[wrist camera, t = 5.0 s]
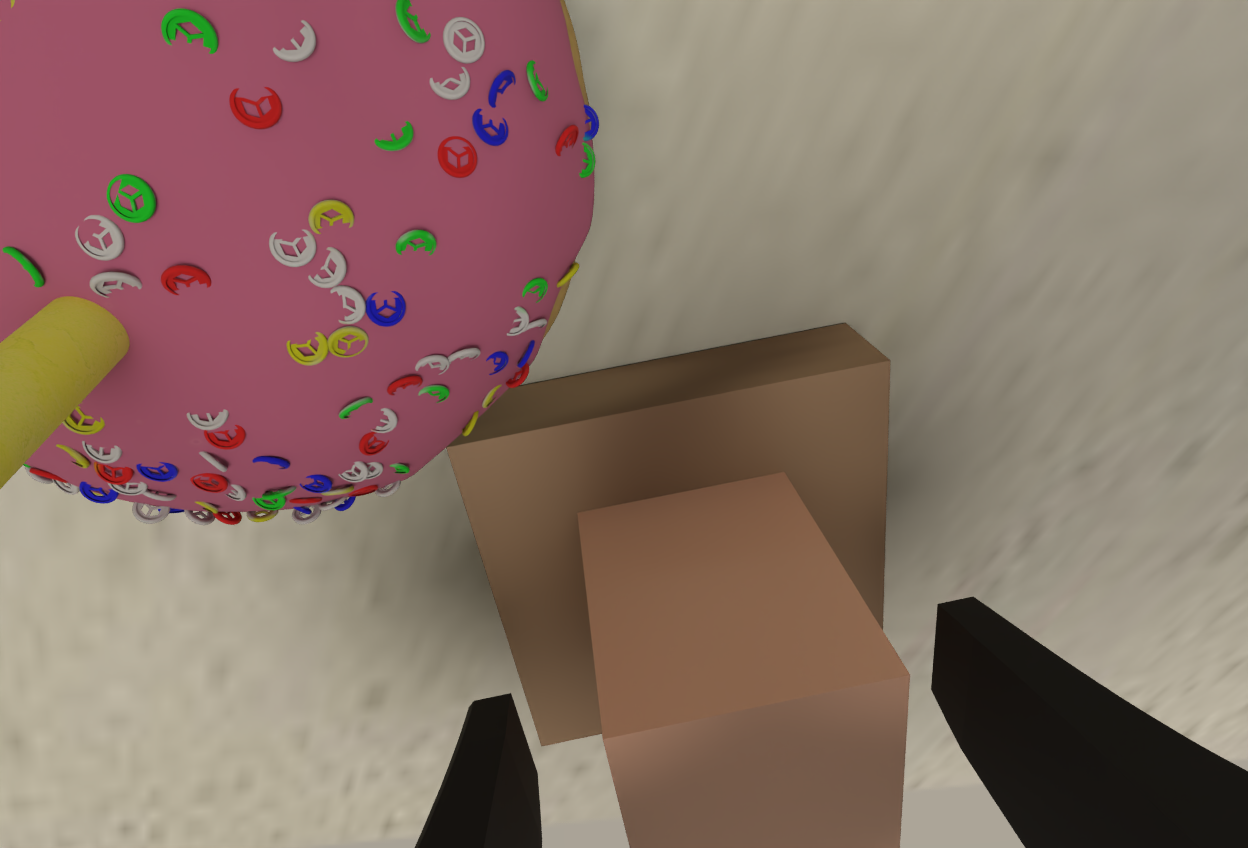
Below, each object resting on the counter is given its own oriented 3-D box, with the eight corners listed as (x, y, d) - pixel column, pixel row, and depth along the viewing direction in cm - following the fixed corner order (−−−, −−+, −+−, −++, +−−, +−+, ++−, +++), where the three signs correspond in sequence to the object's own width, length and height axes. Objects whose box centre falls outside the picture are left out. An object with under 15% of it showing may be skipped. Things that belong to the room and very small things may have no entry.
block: (792, 625, 15) (899, 855, 11) (610, 663, 15) (645, 911, 11) (783, 471, 13) (909, 674, 9) (577, 512, 13) (603, 739, 9)
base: (845, 323, 14) (890, 360, 13) (847, 614, 18) (881, 674, 16) (455, 398, 14) (446, 447, 12) (540, 678, 18) (541, 746, 16)
